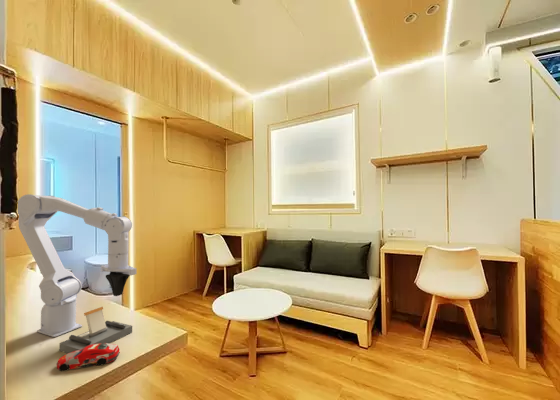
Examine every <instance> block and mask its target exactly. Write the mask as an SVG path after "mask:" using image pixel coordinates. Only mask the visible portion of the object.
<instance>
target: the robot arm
mask: <svg viewBox="0 0 560 400" xmlns="http://www.w3.org/2000/svg"><path fill="white" fill-rule="evenodd" d="M17 202H18V214H19V218H18V228H19V230H20V233H21V235H22V237H23V239H24V241H25V243H26V245H27V246H28V250H29V251H30V253H31V255H32V257H33V259H34V261H35V263H36V265H37V267H38V269H39V271H40V274H41V275H42V277H43V278H42V280H41V281H40V283H39V285H38V287H39V289H40V299H41V301H42V302H43V304H44V305H43V306H42V307H41V310H40V329H37V330H36V332H37V333H40V334H43V335H46V336H49V337H52V338H56V337H58V336H60V335H64V334H66V333H69V332H71V331H73V330H76V329H79V328H81V327H83V324H80V323H77V298H78V294H79V293H80V291H81V290H82V287H83V286H82V285H83V284H82V282H81V280H80V279H79V278H77V277H76V276H75V275H74V272H72V271H70V270H68V269H66V268H65V266H64V264H63V263H62V261H61V258H60V256H59V254H58V251H57V250H56V247H54V244H53V242H52V239H51V238H50V236H49V234H48V232H47V230H46V228H45V225H46V224H47V222H48V221H49V220H51V218H52V217H53V216H54V215H56V214H57V213H58V212H60V213H64V214H66V215H67V214H68V215H71V216H75V217H76V218H81V219H83V223H84V224H86V225H89V226H91V227H94V228H96V229H99V230H102V231H105V233H106V234H107V241H108V242H107V244H108V245H107V247H108V248H107V249H108V250H107V264H103V265H100V272H107V273H108V274H106V275H105V278H106V280H107V281H108V283H109V285H110V289H111V291H112V292H111V293H112V295H113V297H118V296H122V295H123V292H124V289H125V285H126V283H127V281H128V279H129V278H130V276H131V277H132V276H134V275H135V276H136V275H137V267H133V266H131V265H129V245H130V244H129V243H130V242H129V241H130V237H129V232H130V230H131V229H132V228H133V227H132V226H133V223H132V221H131V219H130V218H128V217H127V216H125V215H123V216H118V214H117V213H115V212H112V213H111V212H109V211H106V210H104V208H103V207H101V206H100V207H99V206H97V207H91V208H87V207H85V206H81V205H79V204H76V203H75V202H72V201H69V200H68V199H64V198H63V197H58V196H54V195H37V194H31V193H30V194H29V193H27V194H24V195H22V196H21V197H20V198H18V200H17ZM18 214H17V215H18Z"/></svg>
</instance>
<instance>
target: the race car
mask: <svg viewBox="0 0 560 400" xmlns="http://www.w3.org/2000/svg"><path fill="white" fill-rule="evenodd" d="M119 355H120V347H119V345H118V344H116V343H109V344H108V343H99V344H92V345H89V346H87V347H85V348H83V349H81V350H78V351H74V352H71V353H65V354H64V355H63V356H60V358H59V359H58V360H57V362H56V365H55V366H56V370H58V371H60V372H67V371H69V370H74V369H75V370H76V369H80V368H81V369H82V368H89V367H94V366H105V365H106V364H109V363H112V362H114V361H115V360H116V359H117V358H118V357H119Z"/></svg>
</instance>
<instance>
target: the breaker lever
mask: <svg viewBox="0 0 560 400" xmlns="http://www.w3.org/2000/svg"><path fill="white" fill-rule="evenodd" d="M103 310H104V307H103V306H101V307H98V308H95V309H91V310H89V311H85V312H84V313H83V315H84V316H85V319H86V323H87V327H88V331H89V333H90V334H89V337H92V336H94V335H97V334H99V333H101V332H103V331H106V330H107V329H108V327H106V324H105V322H106V320H105V315H104V311H103Z"/></svg>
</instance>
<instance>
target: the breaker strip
mask: <svg viewBox="0 0 560 400" xmlns="http://www.w3.org/2000/svg"><path fill="white" fill-rule="evenodd" d="M105 324H106V327H108V329H107V330H106V331H103V332H101V333H99V334H97V335H94V336H92V337H89V334H90V333H89V330H88V331H85V332H83V333H81V334H78V335H74V334H71V335H69V337H68V339H67V340H64V341H61V342H59V351H60V352H62V353H65V354H68V353H71V352H74V351H78V350H81V349H83V348H85V347H87V346H89V345H92V344H99V343H108V344H112V343H114V342H115V341H118V340H119V339H121V338H124V337H126V336H128V335H129V334H131V333H133V325H132V324H127V323H123V322H118V321H115V320H112V321H111V320H105Z"/></svg>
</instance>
